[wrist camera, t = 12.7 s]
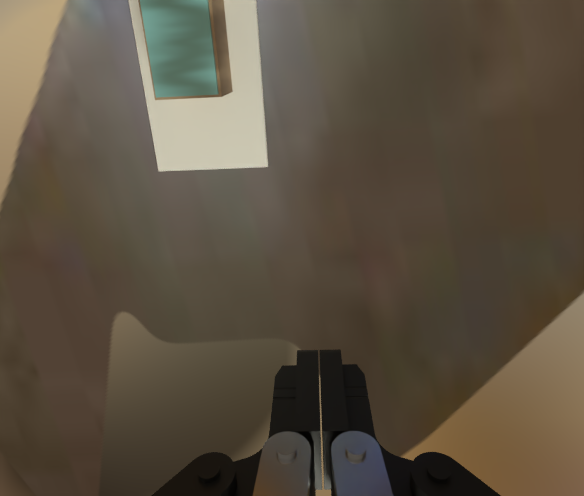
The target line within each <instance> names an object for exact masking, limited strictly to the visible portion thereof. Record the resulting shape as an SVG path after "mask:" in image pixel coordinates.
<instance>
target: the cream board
mask: <svg viewBox="0 0 584 496" xmlns="http://www.w3.org/2000/svg"><path fill="white" fill-rule="evenodd" d="M128 1H129V6H130V12H131V18H132V23H133V29H134V35H135V40H136V46H137V52H138V57H139V63H140V69H141V74H142V80H143V86H144V91H145V97H146V102H147V108H148V114H149V119H150V125H151V131H152V136H153V142H154V148H155V153H156V159H157V165H158V170H159V171H179V170H204V169H229V168H253V167H268V153H267V139H266V125H265V111H264V97H263V84H262V70H261V56H260V42H259V28H258V14H257V0H224V8H225V19H226V29H227V39H228V49H229V59H230V69H231V79H232V90H233V92H231V93H229V94H227V95H225V96H223V97H210V98H190V99H169V100H155V97H154V91H153V85H152V79H151V73H150V67H149V61H148V55H147V49H146V43H145V37H144V31H143V25H142V19H141V14H140V8H139V2H138V0H128Z"/></svg>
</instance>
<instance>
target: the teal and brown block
mask: <svg viewBox="0 0 584 496" xmlns="http://www.w3.org/2000/svg"><path fill="white" fill-rule="evenodd" d="M138 2H139V8H140V14H141V19H142V25H143V31H144V37H145V43H146V49H147V55H148V61H149V67H150V73H151V79H152V85H153V91H154V97H155V100H169V99H190V98H210V97H223V96H225V95H227V94H229V93H231V92H233V90H232V79H231V69H230V59H229V49H228V39H227V29H226V19H225V8H224V0H138Z"/></svg>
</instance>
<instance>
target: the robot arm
mask: <svg viewBox="0 0 584 496" xmlns="http://www.w3.org/2000/svg"><path fill="white" fill-rule="evenodd" d="M320 377H321V406H322V407H321V408H322V437H323V462H324V463H323V464H324V489H331V496H500V495H499V494H498V493H497V492H495V491H494V490H493V489H491V488H490V487H488V486H487V485H486V484H485V483H484V482H482V481H481V480H480V479H478V478H477V477H476V476H475V475H473V474H472V473H471V472H469V471H468V470H467V469H465V468H464V467H463V466H462V465H460V464H459V463H458V462H456V461H455V460H453V459H452V458H451V457H449V456H447V455H444V454H441V453H437V452H426V453H423V454H420V455H419V456H417V457H416V458H415V459H414V461H412V460H408V459H405V458H401V457H398V456H395V455H393V454H391V453H389V452H388V451H386V450H385V449H384V448H383V447H382V446H381V445H380V444H379V442H378V441H377V439H376V437H375V433H374V427H373V421H372V415H371V410H370V404H369V399H368V392H367V388H366V381H365V375H364V373H363V372H362V371H361V370H360V368H359V367H358V366H357V364H352V365H342V359H341V350H320ZM321 473H322V470H321V437H320V403H319V370H318V350H298V351H297V365H295V366H282V367H281V369H280V370H279V371H278V373H277V374H276V376H275V384H274V394H273V403H272V413H271V422H270V432H269V438H268V440H267V441H266V442H265V444H264V446H263V448H262V449H261V450H260V451H259V452H257V453H256V454H254V455H252V456H250V457H248V458H245V459H241V460H238V461H235V462H233V461H232V459H231V458H230V457H229V456H227V455H225V454H223V453H218V452H211V453H206V454H203V455H201V456H199V457H197V458H196V459H194V460H193V461H192V462H191V463H190V464H188V465H187V466H186V467H185V468H184V469H183V470H181V471H180V472H179V473H178V474H177V475H175V476H174V477H173V478H172V479H171V480H169V481H168V482H167V483H166V484H165V485H164V486H162V487H161V488H160V489H159V490H158V491H156V492H155V493H154V494H153V495H152V496H315V490H316V489H318V490H321V489H322V474H321Z"/></svg>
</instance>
